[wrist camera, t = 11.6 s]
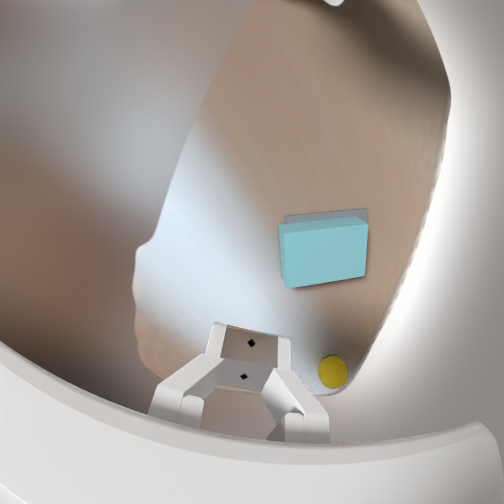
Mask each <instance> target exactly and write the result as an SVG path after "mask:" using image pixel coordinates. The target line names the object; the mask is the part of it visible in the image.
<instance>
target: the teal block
mask: <svg viewBox="0 0 504 504" xmlns="http://www.w3.org/2000/svg"><path fill="white" fill-rule="evenodd" d="M278 230H279V245H280V260H281V276H282V278H283V281H284V283H285V286H286V288H294V287H301V286H307V285H313V284H320V283H326V282H332V281H338V280H344V279H350V278H355V277H361V276H365V266H366V253H367V237H368V224H367V223H365V222H364V221H362V220H361V219H359V218H357V217H346V218H336V219H326V220H316V221H307V222H298V223H289V224H280V225H278Z"/></svg>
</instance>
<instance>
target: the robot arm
mask: <svg viewBox="0 0 504 504" xmlns="http://www.w3.org/2000/svg"><path fill="white" fill-rule="evenodd" d="M218 385H223V386H229V387H234V388H240V389H245V390H250V391H255V392H261V393H260V394H261V396H262V398H263V400H264V401H265V403H266V406H267V407H268V409H269V411H270V413H271V415H272V417H273V419H274V421H275V422H276V424H277V426H276V427H275V428H274V429H273V431H272V432H271V433H270V434H269V435H268V436H267V437H266V440H257V439H250V438H243V437H237V436H231V435H225V434H220V433H214V432H209V431H205V430H200V429H199V425H200V419H201V414H202V409H203V404H204V401H203V399H204V398H205V397H207V395H209V394H210V393H211V392H212V391H213V390H214V389H215V388H216V387H217V386H218ZM0 504H504V479H503V471H502V464H501V459H500V454H499V449H498V445H497V443H496V440H495V438H494V436H493V435H492V434H491V433H490V431H489V430H488V429H486V427H485V426H484V425H482V424H481V423H480V422H473V423H470V424H466V425H463V426H459V427H455V428H452V429H448V430H444V431H439V432H434V433H430V434H425V435H419V436H413V437H407V438H401V439H394V440H385V441H374V442H363V443H362V442H361V443H340V444H331V442H330V429H329V417H328V414H327V412H326V411H325V410H324V409H323V407H322V406H321V404H320V403H319V402H318V400H317V399H316V398H315V396H314V395H313V394H312V393H311V391H310V390H309V389H308V387H307V386H306V385H305V383H304V382H303V381H302V379H301V378H300V376H299V375H298V374H297V372H296V371H292V358H291V339H290V337H285V336H280V335H274V334H269V333H263V332H258V331H253V330H247V329H243V328H239V327H235V326H231V325H226V324H222V323H218V322H214V323H213V326H212V330H211V334H210V338H209V342H208V345H207V349H206V353H205V354H203V353H201V354H200V355H198V356H197V357H196V358H194V359H193V360H192V361H190V362H189V363H188V364H186V365H185V366H184V367H182V368H181V369H179V370H178V371H177V372H175V373H174V374H172V375H171V376H170V377H168V378H167V379H165V380H164V381H163V382H161V383H160V384H158V386H157V389H156V391H155V394H154V397H153V400H152V403H151V406H150V409H149V412H148V415H145V414H143V413H140V412H136V411H134V410H131V409H128V408H126V407H123V406H120V405H118V404H115V403H113V402H110V401H108V400H105V399H103V398H100V397H98V396H96V395H94V394H91V393H89V392H87V391H85V390H82V389H81V388H78V387H76V386H74V385H72V384H70V383H68V382H66V381H64V380H62V379H61V378H59V377H57V376H55V375H53V374H51V373H50V372H48V371H46V370H44V369H43V368H41V367H39V366H37V365H35V364H34V363H32V362H31V361H29V360H28V359H26V358H24V357H23V356H21V355H20V354H18V353H17V352H15V351H14V350H12V349H11V348H10V347H8V346H7V345H5V344H4V343H2V342H1V341H0Z"/></svg>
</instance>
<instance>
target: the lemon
mask: <svg viewBox="0 0 504 504" xmlns="http://www.w3.org/2000/svg"><path fill="white" fill-rule="evenodd" d="M318 375H319V378H320V380H321V381H322V383H323V384H324V385H325V386H326V387H328V388H331V389H336V388H340V387H341V386H343V385H344V384H345V382H346V381H347V378H348V370H347V366H346V364H345V363H344V361H343V360H342V359H341V358H339V357H337V356H328V357H326V358H324V359H323V360H322V361H321V362H320V364H319V367H318Z"/></svg>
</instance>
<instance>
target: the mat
mask: <svg viewBox="0 0 504 504" xmlns="http://www.w3.org/2000/svg"><path fill="white" fill-rule="evenodd" d="M346 217H357V218H359V219H361V220H362V221H364V222H365V223H368V209H367V208H364V209H352V210H341V211H330V212H320V213H310V214H300V215H291V216H285V224H289V223H298V222H307V221H316V220H326V219H336V218H346Z"/></svg>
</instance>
